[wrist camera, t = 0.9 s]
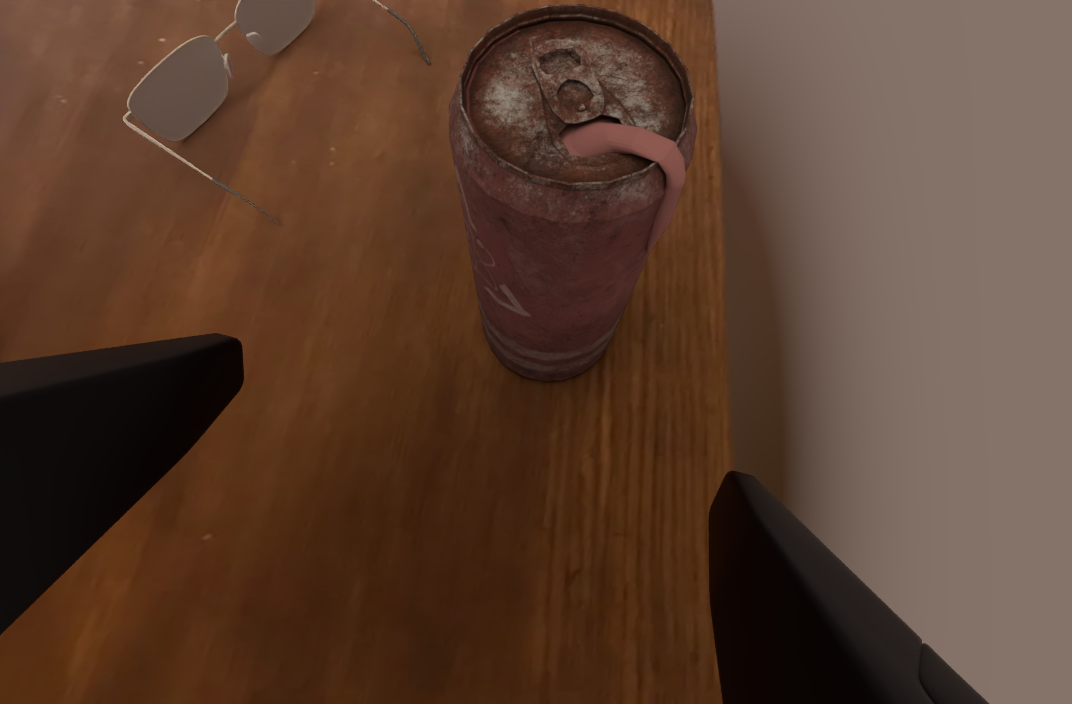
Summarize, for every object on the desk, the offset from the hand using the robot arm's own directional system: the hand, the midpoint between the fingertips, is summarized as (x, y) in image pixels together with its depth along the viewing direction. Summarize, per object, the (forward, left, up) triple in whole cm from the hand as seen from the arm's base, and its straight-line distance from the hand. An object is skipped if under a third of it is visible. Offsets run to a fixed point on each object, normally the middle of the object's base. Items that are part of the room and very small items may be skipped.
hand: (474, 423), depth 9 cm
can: (+8, -1, -14) cm, 16 cm away
